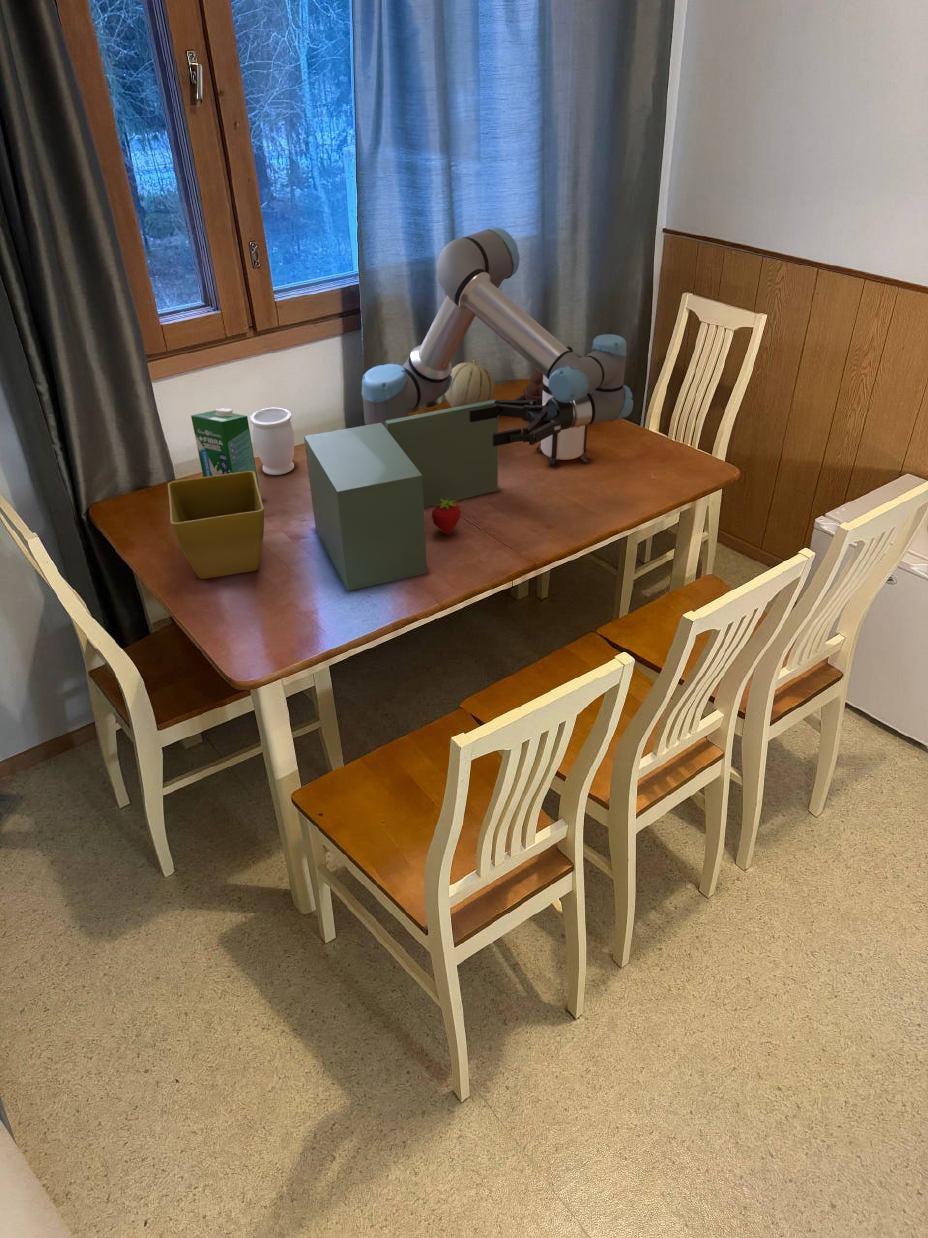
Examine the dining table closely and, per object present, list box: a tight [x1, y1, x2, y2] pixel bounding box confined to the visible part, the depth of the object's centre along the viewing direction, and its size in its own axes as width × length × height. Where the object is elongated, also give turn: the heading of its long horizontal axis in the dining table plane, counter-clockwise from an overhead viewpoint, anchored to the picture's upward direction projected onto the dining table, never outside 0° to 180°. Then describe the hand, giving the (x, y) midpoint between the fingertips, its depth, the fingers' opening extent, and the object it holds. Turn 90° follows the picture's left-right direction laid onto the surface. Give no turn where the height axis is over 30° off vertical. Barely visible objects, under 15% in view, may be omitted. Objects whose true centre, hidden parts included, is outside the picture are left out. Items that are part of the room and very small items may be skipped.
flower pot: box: [167, 471, 265, 580], centre depth 204 cm, size 19×19×17 cm
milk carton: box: [190, 407, 261, 493], centre depth 222 cm, size 9×9×25 cm
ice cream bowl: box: [522, 369, 543, 405], centre depth 262 cm, size 11×11×15 cm
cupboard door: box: [385, 398, 499, 509], centre depth 225 cm, size 8×28×24 cm, turn 114°
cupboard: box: [303, 423, 428, 592], centre depth 204 cm, size 18×28×24 cm, turn 21°
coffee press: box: [536, 346, 591, 468], centre depth 241 cm, size 17×16×30 cm
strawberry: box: [431, 497, 462, 535], centre depth 214 cm, size 6×8×10 cm
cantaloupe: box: [444, 358, 496, 408], centre depth 269 cm, size 15×15×15 cm
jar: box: [249, 407, 295, 476], centre depth 241 cm, size 11×10×15 cm
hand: (481, 427), depth 205 cm, fingers open, 13 cm apart
